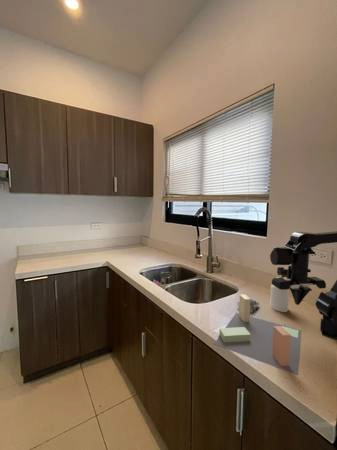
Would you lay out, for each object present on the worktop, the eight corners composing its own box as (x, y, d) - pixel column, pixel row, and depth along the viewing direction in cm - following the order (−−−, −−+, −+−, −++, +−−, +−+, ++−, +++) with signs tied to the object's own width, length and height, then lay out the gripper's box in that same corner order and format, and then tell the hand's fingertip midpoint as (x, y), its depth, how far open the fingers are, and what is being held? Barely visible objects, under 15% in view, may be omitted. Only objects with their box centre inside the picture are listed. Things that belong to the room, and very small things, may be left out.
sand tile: (244, 315, 99) (245, 294, 98) (249, 321, 94) (250, 299, 93) (238, 316, 99) (239, 294, 98) (243, 322, 94) (244, 299, 93)
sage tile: (244, 327, 85) (219, 328, 84) (250, 334, 80) (224, 335, 79) (244, 333, 86) (219, 334, 85) (250, 340, 81) (224, 342, 80)
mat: (301, 331, 88) (301, 330, 88) (297, 376, 65) (297, 374, 65) (236, 313, 102) (236, 312, 102) (213, 345, 79) (213, 343, 79)
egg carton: (250, 315, 101) (250, 307, 101) (235, 310, 107) (235, 301, 106) (260, 308, 108) (261, 300, 108) (246, 303, 114) (246, 295, 114)
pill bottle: (271, 303, 113) (273, 275, 112) (289, 308, 109) (291, 278, 107) (268, 309, 107) (270, 279, 106) (287, 314, 102) (288, 283, 101)
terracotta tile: (279, 354, 73) (280, 326, 72) (288, 365, 68) (290, 334, 68) (272, 355, 73) (273, 326, 72) (281, 366, 68) (283, 335, 67)
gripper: (306, 259, 93) (304, 295, 95) (265, 260, 91) (263, 296, 93) (328, 266, 82) (325, 307, 84) (281, 267, 80) (279, 308, 82)
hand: (297, 304), depth 86 cm, fingers closed
